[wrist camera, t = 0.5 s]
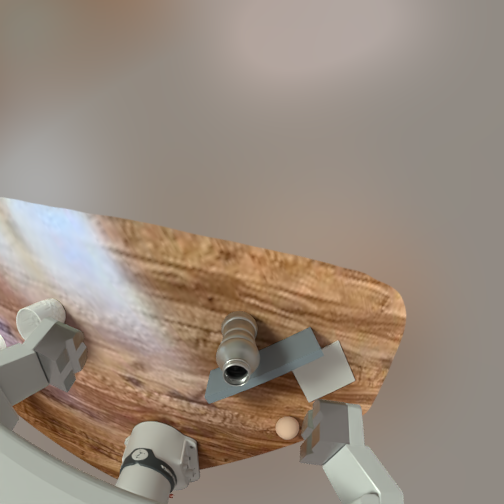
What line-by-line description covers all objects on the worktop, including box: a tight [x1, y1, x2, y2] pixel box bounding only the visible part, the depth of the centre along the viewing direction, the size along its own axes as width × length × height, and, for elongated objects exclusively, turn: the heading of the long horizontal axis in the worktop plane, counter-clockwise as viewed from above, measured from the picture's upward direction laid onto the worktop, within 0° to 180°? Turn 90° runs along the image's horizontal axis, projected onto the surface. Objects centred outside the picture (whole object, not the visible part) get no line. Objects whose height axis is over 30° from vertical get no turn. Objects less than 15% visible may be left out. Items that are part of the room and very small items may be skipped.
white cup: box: [16, 298, 66, 340], centre depth 55 cm, size 8×8×10 cm
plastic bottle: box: [216, 311, 260, 386], centre depth 51 cm, size 6×7×20 cm
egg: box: [276, 416, 299, 439], centre depth 61 cm, size 5×5×6 cm
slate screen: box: [205, 327, 324, 404], centre depth 57 cm, size 6×22×10 cm, turn 116°
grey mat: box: [292, 341, 355, 402], centre depth 62 cm, size 11×11×1 cm
